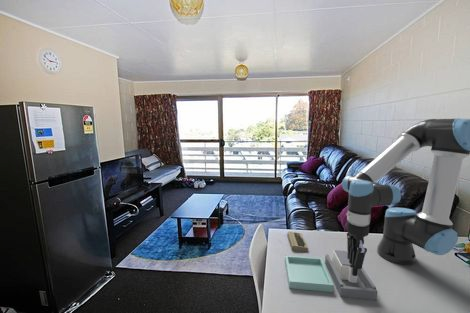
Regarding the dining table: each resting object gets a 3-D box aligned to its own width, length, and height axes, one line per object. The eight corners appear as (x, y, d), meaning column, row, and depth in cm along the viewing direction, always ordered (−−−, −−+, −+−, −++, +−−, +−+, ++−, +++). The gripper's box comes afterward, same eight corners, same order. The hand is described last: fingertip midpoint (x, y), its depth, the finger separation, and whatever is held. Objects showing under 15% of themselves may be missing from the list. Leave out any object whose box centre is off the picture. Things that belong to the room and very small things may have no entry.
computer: (308, 252, 117) (308, 245, 117) (291, 251, 118) (291, 245, 117) (302, 237, 133) (302, 231, 132) (287, 236, 133) (287, 230, 133)
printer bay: (354, 265, 106) (354, 256, 106) (376, 300, 85) (377, 289, 85) (325, 263, 108) (325, 254, 107) (340, 296, 87) (341, 286, 86)
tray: (321, 264, 107) (321, 258, 106) (333, 292, 89) (333, 285, 89) (284, 261, 108) (285, 255, 108) (289, 288, 91) (289, 281, 90)
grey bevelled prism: (345, 263, 108) (346, 250, 107) (355, 281, 96) (357, 266, 95) (331, 262, 108) (332, 249, 107) (340, 279, 96) (341, 264, 96)
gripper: (341, 215, 95) (337, 270, 99) (354, 229, 82) (348, 292, 86) (361, 216, 94) (356, 271, 98) (377, 230, 82) (370, 294, 85)
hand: (352, 281), depth 92 cm, fingers closed
